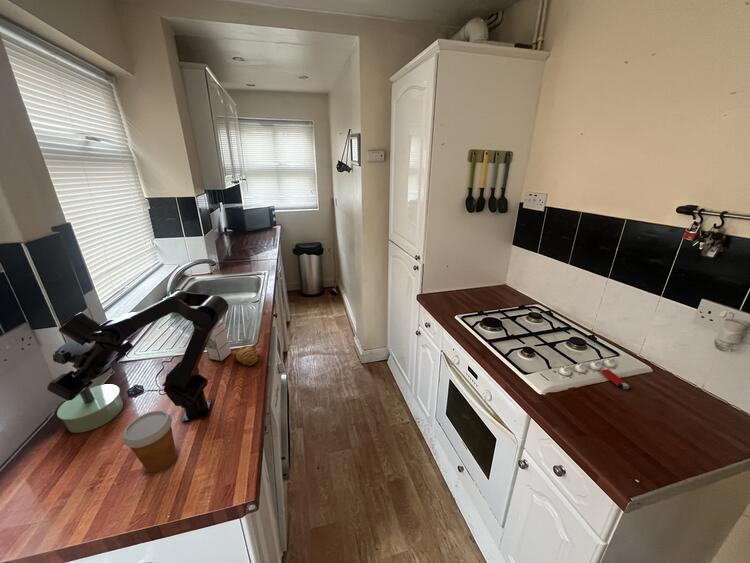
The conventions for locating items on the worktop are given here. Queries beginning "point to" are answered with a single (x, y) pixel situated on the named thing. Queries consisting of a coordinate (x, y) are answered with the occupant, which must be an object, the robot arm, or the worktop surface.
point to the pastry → (247, 355)
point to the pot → (95, 418)
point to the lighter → (615, 379)
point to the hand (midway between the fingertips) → (77, 386)
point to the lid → (88, 402)
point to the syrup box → (218, 343)
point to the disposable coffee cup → (152, 440)
